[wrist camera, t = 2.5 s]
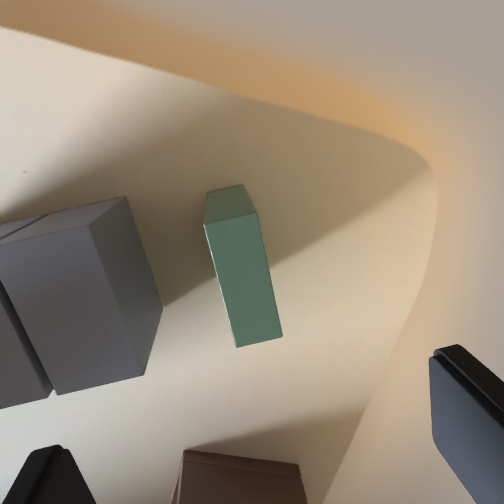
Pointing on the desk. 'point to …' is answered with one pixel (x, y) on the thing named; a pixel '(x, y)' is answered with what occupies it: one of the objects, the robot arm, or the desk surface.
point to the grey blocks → (74, 302)
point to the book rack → (235, 481)
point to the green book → (241, 266)
